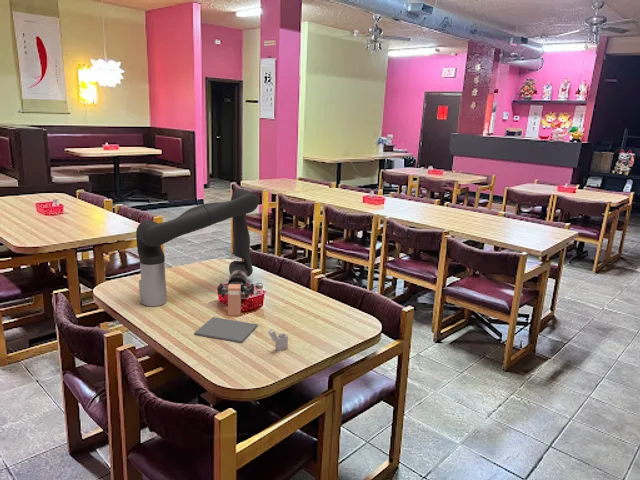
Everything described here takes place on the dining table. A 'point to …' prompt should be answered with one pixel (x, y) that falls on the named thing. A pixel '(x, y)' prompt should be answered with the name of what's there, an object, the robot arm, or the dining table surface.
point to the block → (234, 299)
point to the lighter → (279, 340)
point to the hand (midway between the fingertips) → (234, 295)
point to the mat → (226, 330)
